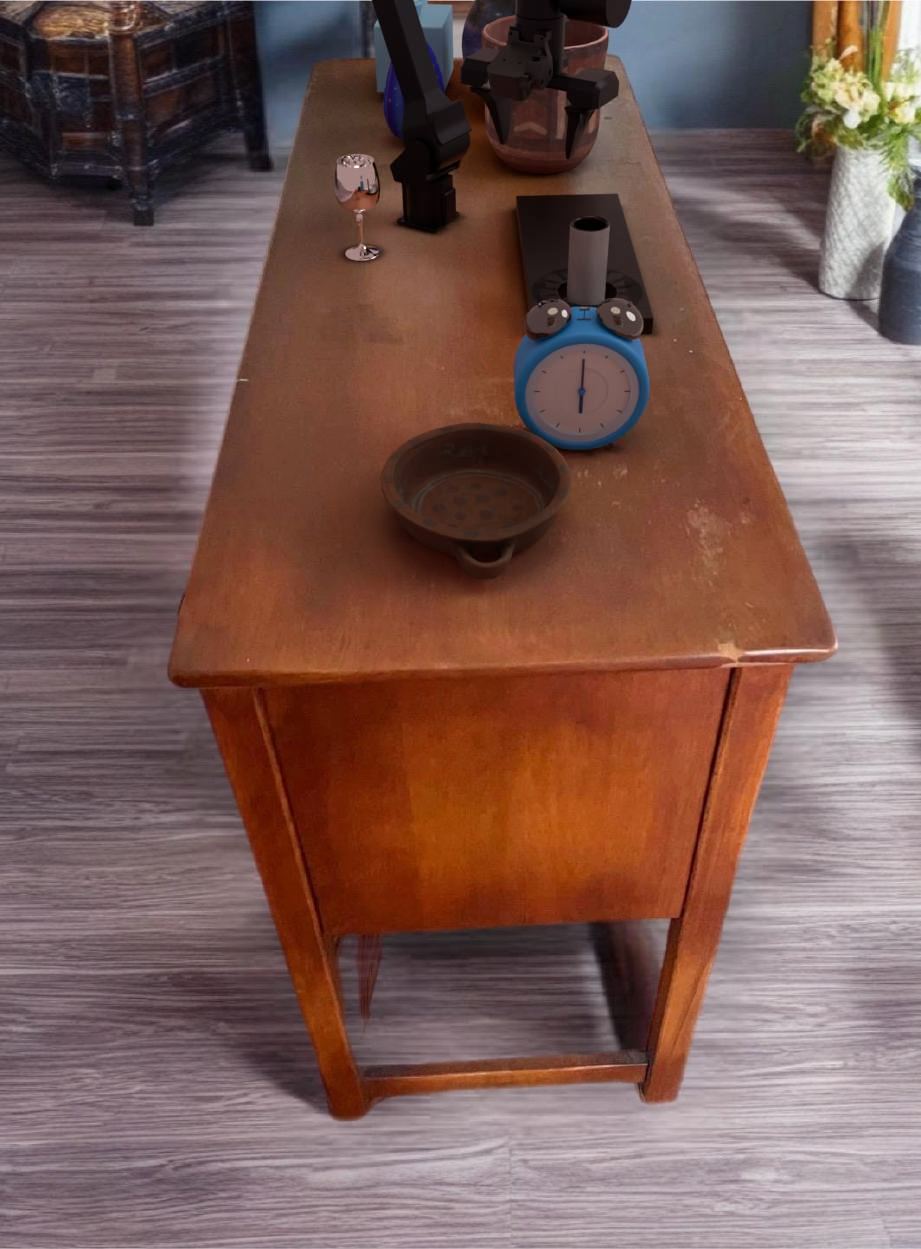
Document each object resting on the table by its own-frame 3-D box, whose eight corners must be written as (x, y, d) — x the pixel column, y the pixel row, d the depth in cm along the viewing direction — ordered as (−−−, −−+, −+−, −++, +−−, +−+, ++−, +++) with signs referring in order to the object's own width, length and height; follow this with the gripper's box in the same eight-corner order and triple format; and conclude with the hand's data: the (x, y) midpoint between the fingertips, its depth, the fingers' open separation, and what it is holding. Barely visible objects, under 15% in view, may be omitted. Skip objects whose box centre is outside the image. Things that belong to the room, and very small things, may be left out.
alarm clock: (513, 454, 120) (515, 317, 110) (512, 421, 124) (514, 287, 114) (644, 453, 119) (658, 316, 109) (638, 420, 124) (651, 286, 114)
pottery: (573, 132, 186) (579, 7, 174) (619, 172, 174) (629, 40, 162) (466, 146, 182) (465, 19, 170) (506, 189, 170) (507, 55, 158)
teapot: (442, 110, 195) (439, 19, 186) (375, 108, 196) (369, 17, 187) (458, 67, 211) (456, -18, 202) (396, 66, 212) (391, -19, 203)
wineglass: (392, 248, 156) (386, 156, 148) (371, 266, 152) (364, 172, 144) (353, 241, 158) (346, 149, 150) (332, 258, 154) (323, 165, 146)
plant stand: (515, 210, 165) (516, 195, 163) (616, 207, 165) (617, 193, 163) (531, 336, 138) (531, 320, 136) (652, 333, 138) (653, 318, 136)
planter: (609, 312, 142) (615, 228, 135) (573, 317, 141) (577, 233, 134) (596, 295, 145) (602, 213, 138) (561, 300, 144) (564, 217, 137)
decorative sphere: (459, 91, 201) (456, -40, 188) (576, 87, 202) (582, -45, 189) (466, 132, 187) (464, -8, 174) (592, 127, 188) (600, -12, 175)
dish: (384, 598, 103) (380, 553, 100) (382, 456, 120) (379, 413, 116) (583, 588, 104) (586, 543, 101) (555, 448, 120) (556, 405, 117)
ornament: (399, 124, 190) (394, 23, 180) (454, 129, 188) (452, 27, 178) (377, 149, 182) (370, 45, 172) (434, 154, 180) (431, 49, 170)
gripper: (433, 19, 134) (436, 158, 145) (579, 44, 127) (572, 189, 137) (484, -5, 141) (484, 129, 152) (626, 18, 134) (615, 157, 144)
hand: (536, 151), depth 146 cm, fingers open, 9 cm apart
